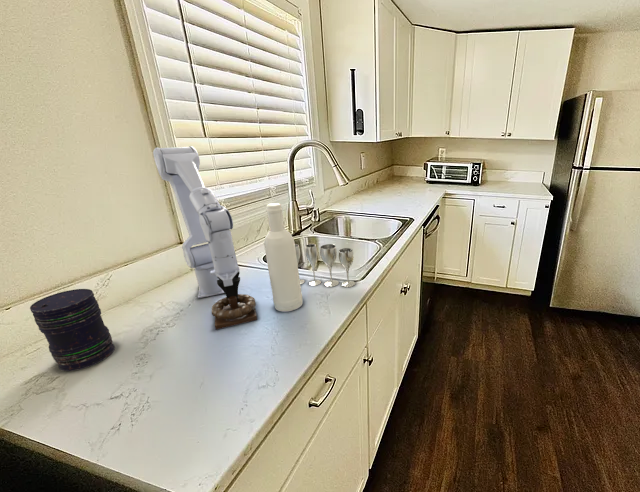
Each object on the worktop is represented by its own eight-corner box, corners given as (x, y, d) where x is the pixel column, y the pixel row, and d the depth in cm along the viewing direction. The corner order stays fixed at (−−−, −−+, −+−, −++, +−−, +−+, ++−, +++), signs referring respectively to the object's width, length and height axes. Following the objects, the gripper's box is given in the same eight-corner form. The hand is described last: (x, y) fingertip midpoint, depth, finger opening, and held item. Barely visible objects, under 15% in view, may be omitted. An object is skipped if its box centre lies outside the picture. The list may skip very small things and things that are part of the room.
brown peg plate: (216, 311, 92) (211, 294, 90) (254, 303, 96) (250, 286, 94) (215, 329, 84) (210, 310, 82) (257, 319, 88) (253, 301, 86)
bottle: (268, 309, 93) (250, 206, 82) (286, 296, 100) (270, 200, 89) (292, 314, 90) (276, 208, 80) (308, 300, 97) (295, 201, 87)
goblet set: (357, 280, 110) (354, 243, 105) (353, 288, 104) (350, 249, 100) (278, 277, 113) (272, 241, 108) (270, 285, 107) (263, 247, 102)
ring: (213, 305, 92) (211, 297, 91) (254, 296, 96) (253, 289, 95) (212, 325, 83) (210, 317, 82) (257, 315, 87) (256, 307, 86)
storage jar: (103, 338, 81) (81, 285, 75) (124, 350, 76) (102, 294, 71) (49, 363, 73) (20, 304, 67) (69, 377, 68) (39, 316, 63)
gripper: (207, 248, 92) (218, 291, 97) (205, 266, 80) (217, 314, 85) (235, 244, 95) (243, 286, 100) (236, 261, 83) (246, 307, 88)
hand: (233, 298), depth 92 cm, fingers closed on ring, 2 cm apart
